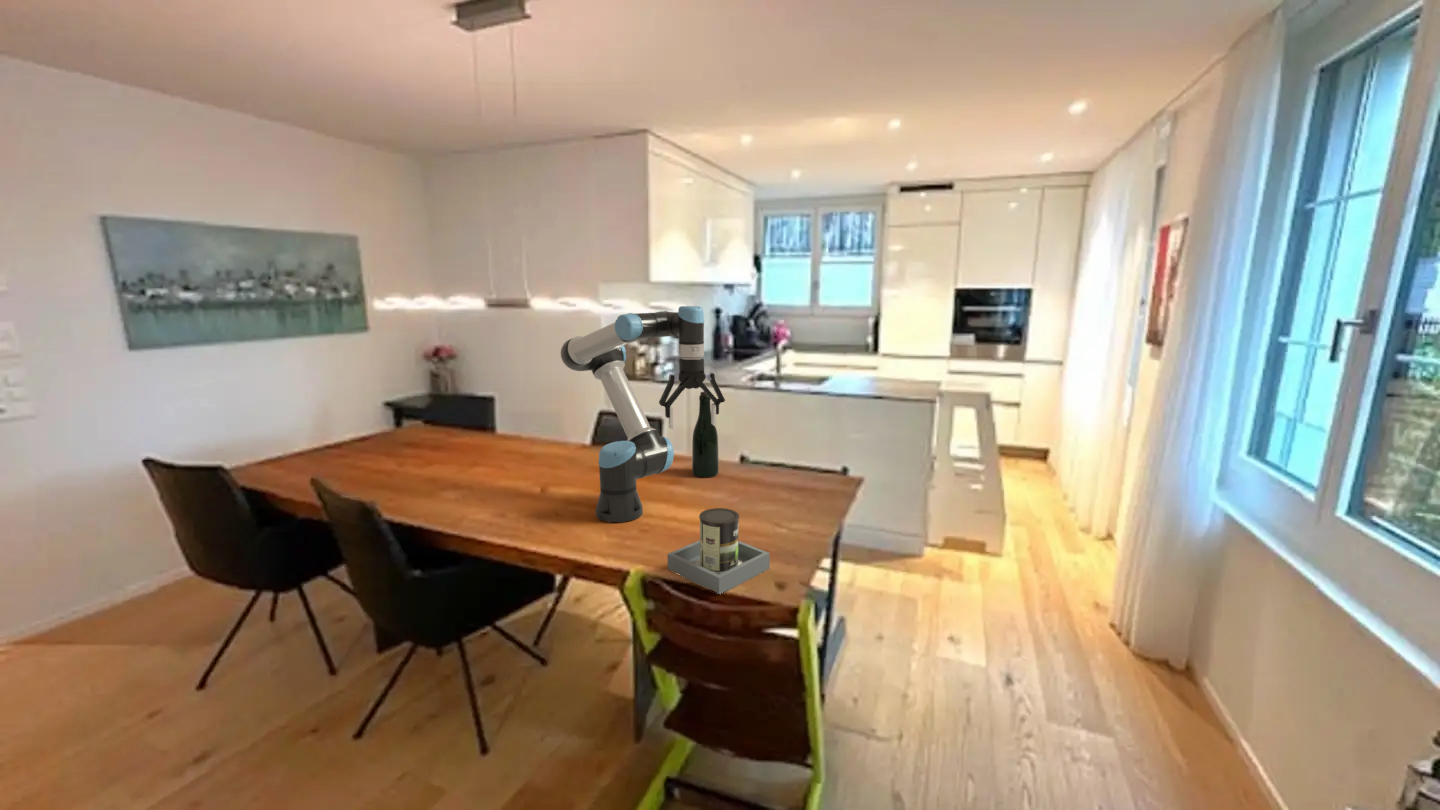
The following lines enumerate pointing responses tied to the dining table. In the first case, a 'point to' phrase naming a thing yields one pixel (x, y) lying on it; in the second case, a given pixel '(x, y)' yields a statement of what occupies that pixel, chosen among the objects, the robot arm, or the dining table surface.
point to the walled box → (689, 567)
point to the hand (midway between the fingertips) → (692, 426)
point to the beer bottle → (705, 442)
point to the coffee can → (719, 539)
